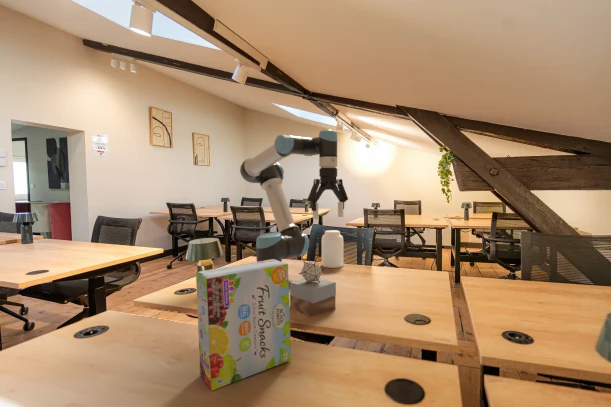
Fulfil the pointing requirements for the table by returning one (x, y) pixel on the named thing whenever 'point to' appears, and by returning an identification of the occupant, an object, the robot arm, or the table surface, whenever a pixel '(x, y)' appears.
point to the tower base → (312, 306)
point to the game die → (311, 271)
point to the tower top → (313, 290)
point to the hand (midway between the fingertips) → (328, 217)
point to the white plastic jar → (332, 249)
